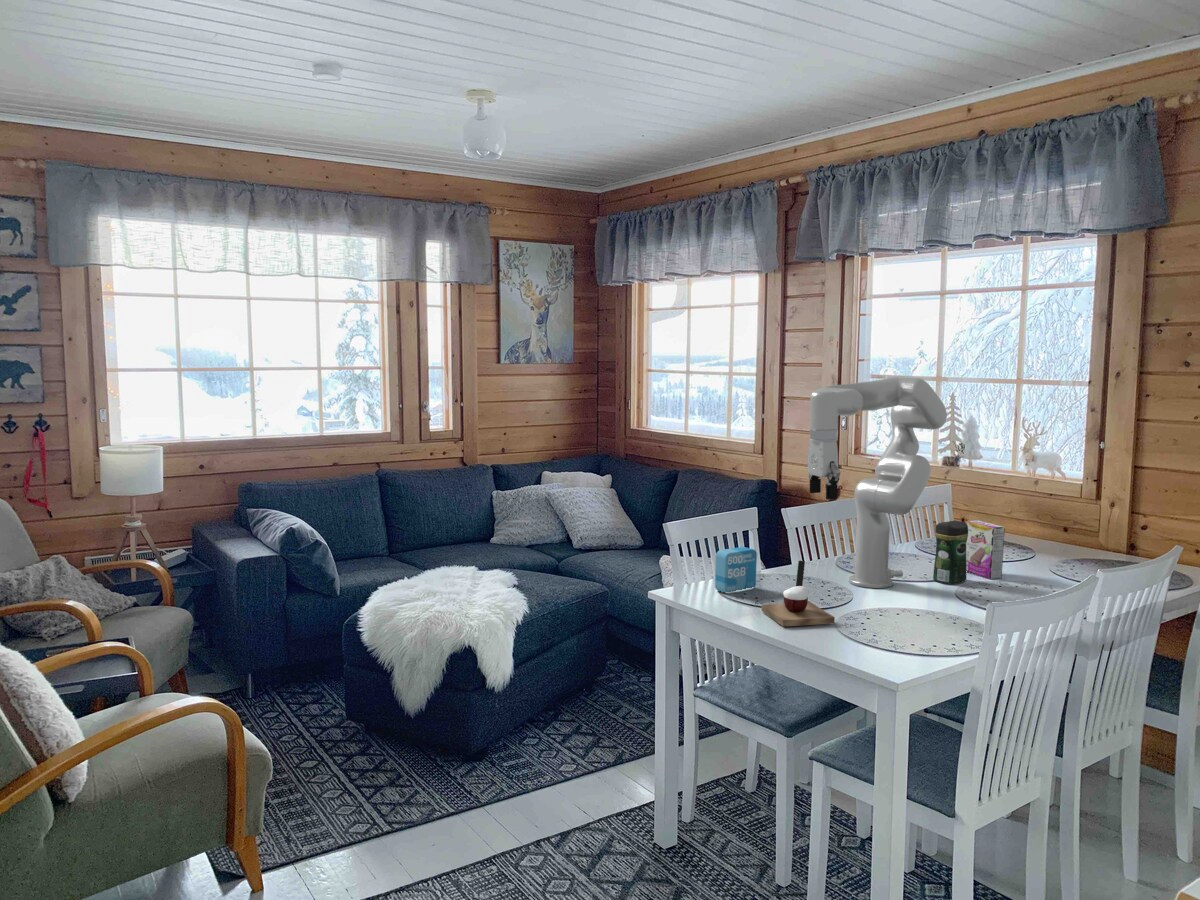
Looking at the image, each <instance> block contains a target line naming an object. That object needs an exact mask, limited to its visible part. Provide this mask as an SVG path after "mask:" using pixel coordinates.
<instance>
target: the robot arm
mask: <svg viewBox="0 0 1200 900" xmlns="http://www.w3.org/2000/svg"><path fill="white" fill-rule="evenodd" d="M809 401H810V403H809V407H810V408H809V443H808V451H807V467H806V470H807V472H808V474H809V475H808V479H809V491H808V492H809V494H818V493H819V494H820V493H821V490H822V489H821V484H822V483H821V482H822V481H821V478H825V481H826V484H825V500H828V501H829V500H837V499H838V485H839V481H840V477H841V470H840V469H839V452H838V444H837V443H838V442H837V441H838V440H839V439H838V438H839V416H849V417H850V416H854V415H857V414H858V413H859V412H861V411H863V412H865V411H867V412H869V411H870V412H871V411H878V410H881V409H882V410H883V409H887V408H891V410H890V423H891V431H892V438H891V440H890V442H889V444H888V446H886V448H885V450H884V452H883V454H882V455H881V457H880V458H879V460H878V461H877V463H876V465H875V469H874V475H875V476H876V478H875V477H874V478H872V477H871V478H870V477H869V478H864V479H861V480H860V481H859V482H858V483H857V484H856V486H855V489H854V493H853V494H854V502H855V510H856V532H855V533H856V535H855V555H854V556H855V558H854V574H853V575H851V576H849V577H848V582H849V583H850V584H852V585H854V586H858V587H862V588H869V589H887V588H890V587H892V586H893V585H894V584H893V583H894V581H893V580H892V579H893V578H894V577H896V578H901V577H903V575H904V572H903V571H902V570H901V569H900V570H895V569H891V568H889V557H890V556H889V554H890V534H891V530H890V529H891V525H890V521H889V518H888V516H887V514H888V515H889V514H890V515H894V516H895V515H897V516H904V515H907V514H908V513H910V511H912V509H913V508H914V506H915V504H916V503H917V501H918V499H919V498H920V496H921V495H922V493H923V491H924V489H925V488H926V487H927V484H928V483H929V480H930V477H931V472H932V471H931V469H932V468H931V463H930V462H929V460H928V459H927V458H926V457H925V456H922V455H918V452H919V450H920V443H919V441H918V437H917V436H916V434H915V431H914V429H919V430H920V429H922V430H939V429H940V428H942V427H943V426H944V425H945V423H946V421H947V418H948V417H947V415H948V414H947V413H948V412H947V409H946V406H945V404H944V403H943V401H942V399H941V398H940V397H939V396H938V394H937V393H936V391H935V389H934V388H932V386H931V385H930V384H929V383H928V382H927V381H926V380H924V379H922V378H919V377H896V376H895V377H889V378H883V379H878V380H871V381H861V382H853V383H843V384H836V385H835V384H834V385H829V386H823V387H820V388H818V389H817V390H814V391H813V392H812V393H811V394H810V400H809Z"/></svg>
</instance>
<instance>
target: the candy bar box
mask: <svg viewBox="0 0 1200 900" xmlns="http://www.w3.org/2000/svg"><path fill="white" fill-rule="evenodd" d="M966 524H967V526H968V538H967V543H966V571H967V572H966V573H969V572H970V573H969V574H972V573H973V574H972V575H976V576H979V577H981V576H982V578H984V577H985V579H988V580H998V579H997V578H999V579H1002V577H1003V561H1004V549H1005V548H1004V547H1005V545H1004V544H1005V531H1006V529H1005V528H1006V527H1005V526H1002V525H998V524H995V523H990V522H988V521H987V522H986V521H983V520H978V519H977V520H968V521H966Z"/></svg>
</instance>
